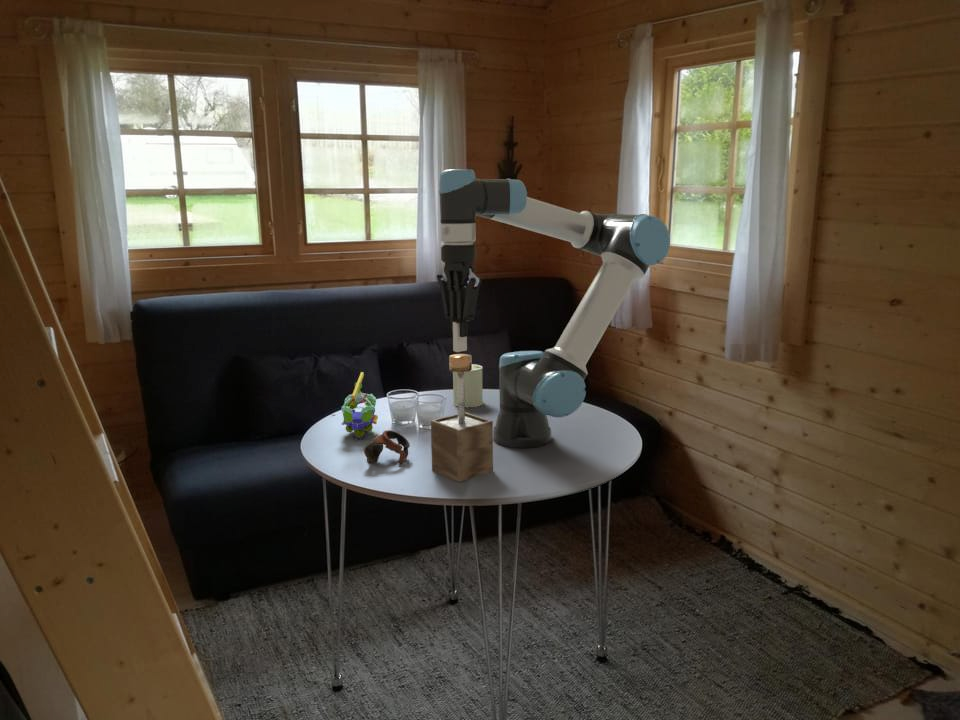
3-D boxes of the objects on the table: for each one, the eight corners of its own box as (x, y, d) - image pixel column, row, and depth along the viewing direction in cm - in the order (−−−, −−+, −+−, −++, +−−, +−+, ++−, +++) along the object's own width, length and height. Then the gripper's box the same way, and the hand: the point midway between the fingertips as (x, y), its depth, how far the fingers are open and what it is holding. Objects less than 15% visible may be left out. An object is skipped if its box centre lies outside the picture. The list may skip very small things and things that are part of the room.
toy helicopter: (374, 450, 182) (371, 394, 179) (338, 451, 181) (334, 395, 178) (380, 420, 206) (378, 370, 203) (348, 421, 206) (345, 371, 202)
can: (483, 407, 218) (483, 368, 215) (453, 408, 217) (452, 369, 215) (482, 399, 227) (482, 362, 224) (453, 400, 226) (452, 362, 224)
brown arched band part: (379, 453, 181) (395, 426, 179) (404, 476, 177) (420, 449, 175) (348, 455, 171) (364, 427, 169) (374, 480, 167) (390, 451, 165)
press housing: (465, 459, 174) (464, 411, 172) (493, 471, 167) (492, 421, 164) (432, 470, 168) (430, 420, 165) (459, 482, 161) (458, 430, 158)
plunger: (463, 419, 171) (462, 351, 167) (486, 427, 165) (485, 356, 161) (436, 426, 166) (435, 356, 162) (459, 434, 160) (457, 361, 156)
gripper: (426, 243, 159) (428, 348, 164) (464, 245, 149) (465, 357, 154) (452, 241, 163) (454, 344, 169) (491, 243, 154) (492, 352, 159)
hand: (460, 350), depth 161 cm, fingers closed
